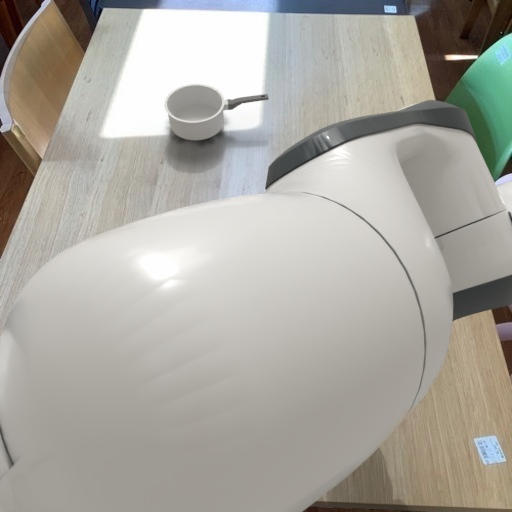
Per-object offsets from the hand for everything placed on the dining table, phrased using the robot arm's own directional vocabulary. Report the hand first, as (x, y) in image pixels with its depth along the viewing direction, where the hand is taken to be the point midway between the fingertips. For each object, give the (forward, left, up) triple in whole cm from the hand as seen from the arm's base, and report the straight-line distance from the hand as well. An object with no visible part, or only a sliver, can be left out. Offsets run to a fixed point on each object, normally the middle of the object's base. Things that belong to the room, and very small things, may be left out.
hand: (307, 304), depth 60 cm
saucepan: (+31, +38, -11) cm, 51 cm away
